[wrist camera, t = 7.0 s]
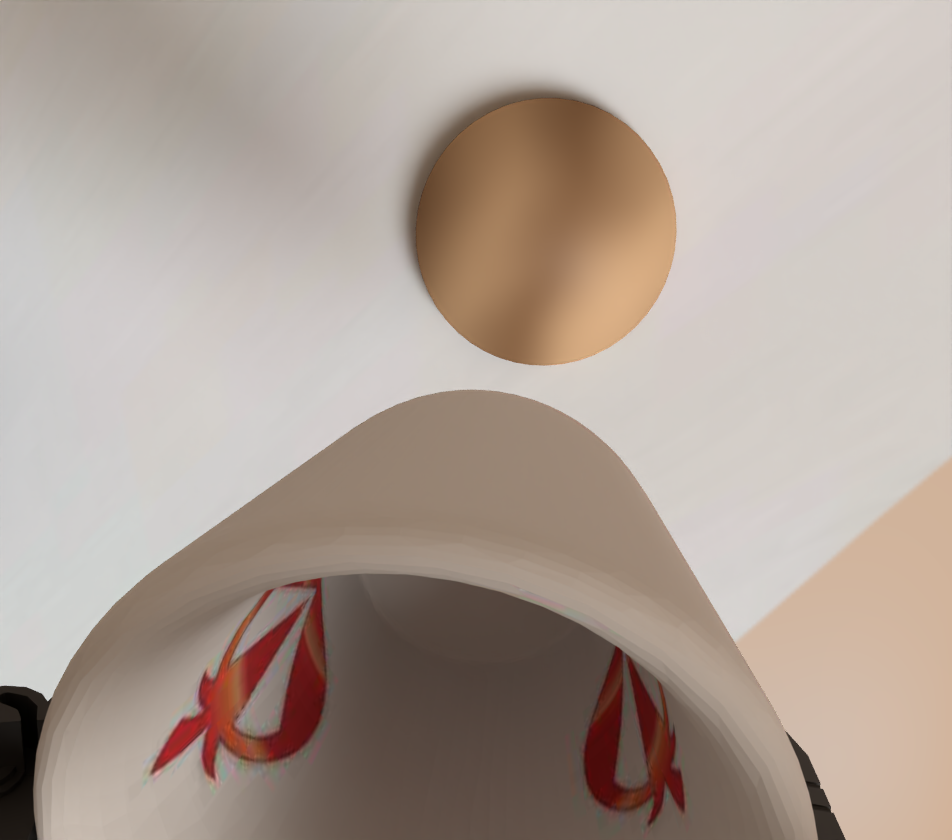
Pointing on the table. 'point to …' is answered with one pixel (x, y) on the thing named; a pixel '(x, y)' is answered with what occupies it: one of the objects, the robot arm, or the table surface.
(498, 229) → the coaster
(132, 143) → the table surface
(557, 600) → the cup
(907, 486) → the table surface
